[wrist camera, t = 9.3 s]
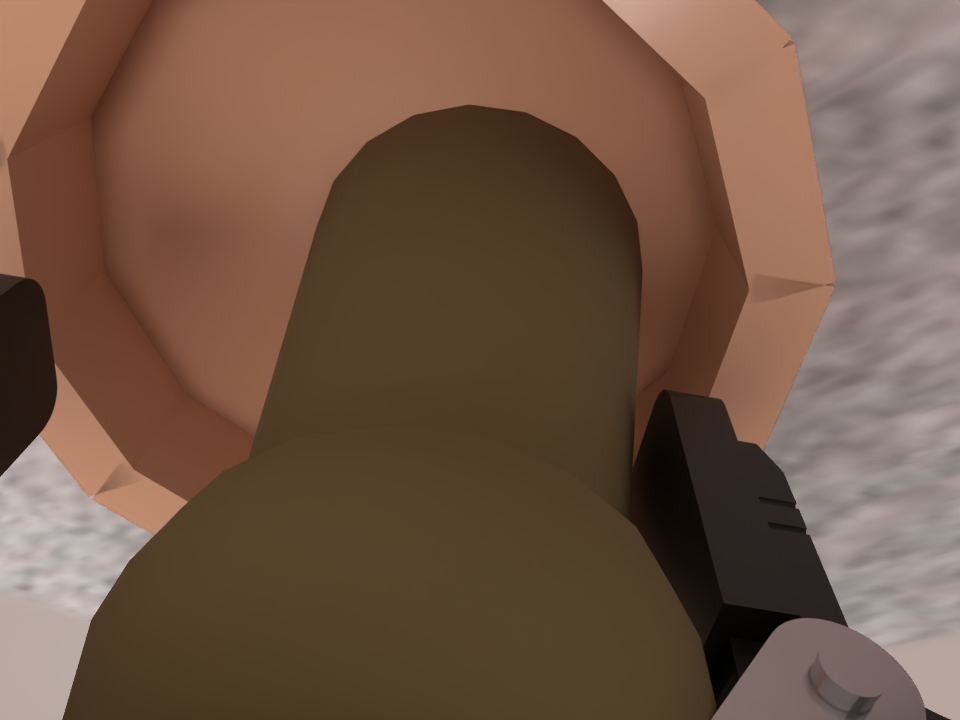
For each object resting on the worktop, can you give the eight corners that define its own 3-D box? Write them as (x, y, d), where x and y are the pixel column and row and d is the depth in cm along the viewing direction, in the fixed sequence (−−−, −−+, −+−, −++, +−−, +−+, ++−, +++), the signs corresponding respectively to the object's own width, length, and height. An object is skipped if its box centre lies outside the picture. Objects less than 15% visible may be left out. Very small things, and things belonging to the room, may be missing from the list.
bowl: (887, -100, 12) (1003, -97, 9) (650, 537, 19) (671, 659, 16) (8, -268, 12) (-174, -322, 9) (92, 445, 19) (7, 552, 16)
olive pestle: (516, 455, 17) (484, 1191, 7) (260, 306, 15) (-197, 980, 6) (713, 235, 14) (1077, 962, 4) (423, 27, 12) (59, 450, 3)
